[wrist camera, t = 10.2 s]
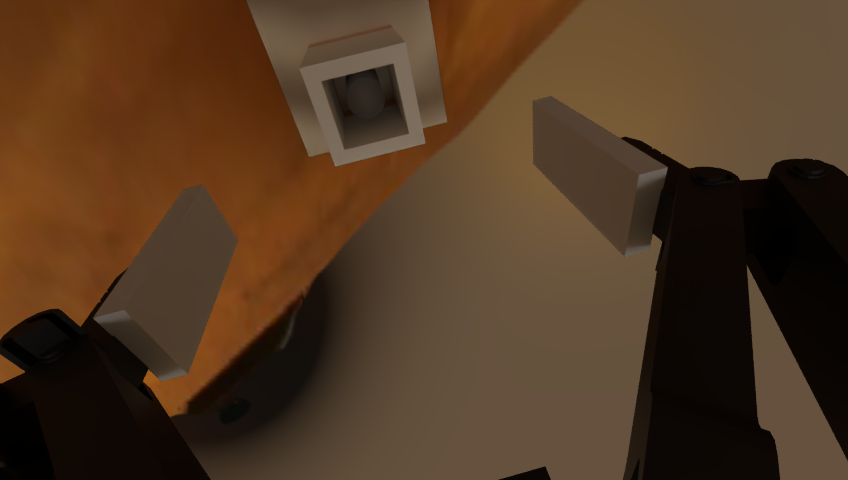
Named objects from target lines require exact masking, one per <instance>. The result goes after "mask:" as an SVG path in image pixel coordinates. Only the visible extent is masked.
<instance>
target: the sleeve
mask: <svg viewBox="0 0 848 480" xmlns="http://www.w3.org/2000/svg"><path fill="white" fill-rule="evenodd" d="M385 65H387V68H388V72H389V76H390V81H391V85H392V89H393V93H394V98H395V99H392V100H388V101H385V103H384V107H383V109H382V111H381V112H380V113H379V114H378V115H377V116H375V117H373V118H369V119H364V118H360V117H358V116H356V115H355V114H354V113H352V111H351V110H348V111H345V112H344V111H343V108H342V105H341V102H340V99H339V95H338V92H337V89H336V86H335V83H334V80H333V78H337V77H341V76H345V75H349V74H353V73H357V72H361V71H365V70H369V69H373V68H377V67H381V66H385ZM299 69H300V72H301V74H302V77H303V80H304V82H305V85H306V88H307V91H308V93H309V96H310V99H311V102H312V104H313V107H314V110H315V113H316V115H317V118H318V121H319V123H320V126H321V129H322V132H323V134H324V137H325V140H326V143H327V145H328V148H329V151H330V154H331V156H332V159H333V162H334V165H335V167H336V166H340V165H343V164H347V163H351V162H355V161H359V160H363V159H367V158H371V157H375V156H379V155H382V154H386V153H390V152H394V151H398V150H402V149H406V148H410V147H414V146H418V145H422V144H425V138H424V133H423V128H422V122H421V117H420V112H419V107H418V102H417V97H416V92H415V87H414V82H413V77H412V72H411V67H410V62H409V57H408V52H407V47H406V42H405V41H404V40H403V39H402V37H401V36H400V35H399V34H398V33H397V32H396V31H395V30H394V28H393V27H392V26H391V25H388V26H384V27H380V28H376V29H372V30H367V31H363V32H359V33H355V34H351V35H347V36H343V37H339V38H335V39H331V40H327V41H323V42H319V43H315V44H310V45H309V46H308V49H307V51H306V54H305V56H304V58H303V61H302V63H301V66H300V68H299Z"/></svg>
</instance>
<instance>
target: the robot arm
mask: <svg viewBox="0 0 848 480" xmlns="http://www.w3.org/2000/svg"><path fill="white" fill-rule="evenodd" d="M533 164H534V165H535V166H536V167H537V168H538V169H539V170H540V171H541V172H542V173H543V174H544V175H545V176H546V177H547V178H548V179H549V180H550V181H551V182H552V183H553V184H554V185H555V186H556V187H557V189H558V190H560V192H561V193H562V194H563V195H564V196H565V197H566V198H567V199H568V200H569V201H570V202H571V203H572V204H573V205H574V206H575V207H576V208H577V209H578V210H579V211H580V212H581V213H582V214H583V215H584V216H585V217H586V218H587V219H588V220H589V221H590V222H591V223H592V224H593V225H594V226H595V227H596V228H597V229H598V230H599V231H600V232H601V233H602V234H603V235H604V236H605V237H606V238H607V239H608V240H609V241H610V242H611V243H612V245H614V247H615V248H617V249H618V251H619V252H620V253H621V254H622V255H623V256H624V257H626V256H630V255H633V254H637V253H641V252H644V251H648V250H649V249H650V244H651V240H652V235H653V234H654V235H655V236H657V237H658V238H659V239H660V240H661V241H662V245H661V249H660V253H659V258H658V261H657V265H656V271H657V273H656V280H655V287H654V292H653V299H652V305H651V312H650V318H649V324H648V331H647V337H646V343H645V350H644V356H643V362H642V369H641V375H640V381H639V388H638V394H637V400H636V407H635V414H634V419H633V426H632V432H631V438H630V445H629V451H628V457H627V463H626V468H625V473H624V477H623V480H780V474H779V464H778V455H777V449H776V444H775V440H774V438H773V436H772V435H771V432H770V431H767V430H764V429H762V428H761V427H760V425H759V423H758V417H757V405H756V391H755V376H754V362H753V348H752V334H751V321H750V307H749V306H750V305H749V291H748V278H747V266H748V268H749V270H750V272H751V273H752V276H753V278H754V279H755V281H756V283H757V285H758V287H759V289H760V291H761V293H762V295H763V297H764V299H765V301H766V303H767V305H768V307H769V309H770V310H771V313H772V314H773V316H774V318H775V320H776V322H777V324H778V326H779V328H780V330H781V332H782V334H783V336H784V338H785V340H786V342H787V344H788V346H789V348H790V349H791V351H792V353H793V355H794V357H795V359H796V361H797V363H798V365H799V367H800V369H801V371H802V373H803V375H804V377H805V378H806V381H807V383H808V384H809V386H810V388H811V390H812V392H813V394H814V396H815V398H816V400H817V402H818V404H819V406H820V408H821V410H822V411H823V414H824V416H825V418H826V419H827V421H828V423H829V425H830V427H831V429H832V431H833V433H834V435H835V437H836V439H837V441H838V443H839V445H840V446H841V448H842V451H843V452H844V454H845V456H846V458H847V460H848V176H847V175H846V174H845V173H844V172H843V171H841V170H840V169H838V168H837V167H835V166H833V165H830V164H827V163H824V162H823V161H820V160H813V159H789V160H783V161H780V162H777V163H775V164H774V165H773V167H772V168H771V171H770V173H769V176H768V178H767V179H756V180H741V181H740V179H739V178H738V176H736V175H735V174H733V173H732V172H730V171H727V170H724V169H721V168H714V167H695V168H690V169H689V168H687V167H685V166H684V165H682V164H680V163H678V162H677V161H675V160H673V159H671V158H670V157H668V156H666V155H665V154H661V152H659V151H658V150H656V149H652V147H651V146H649V145H647V144H646V143H644V142H642V141H640V140H636V139H632V138H628V137H623V138H619V137H617V136H616V135H614V134H612V133H611V132H609V131H607V130H606V129H604V128H603V127H601V126H599V125H598V124H596V123H594V122H593V121H591V120H589V119H588V118H586V117H584V116H583V115H581V114H579V113H578V112H576V111H575V110H573V109H571V108H570V107H568V106H566V105H565V104H563V103H561V102H560V101H558V100H557V99H555V98H553V97H552V96H550V97H546V98H542V99H538V100H534V101H533ZM237 242H238V239H237V238H236V236H235V235H234V233H233V231H232V230H231V228H230V227H229V225H228V223H227V222H226V220H225V218H224V217H223V215H222V214H221V212H220V210H219V209H218V207H217V205H216V204H215V202H214V201H213V199H212V197H211V196H210V194H209V193H208V191H207V189H206V188H205V186H204V184H203V185H199V186H195V187H191V188H187V189H184V190H183V191H182V192H181V194H180V195H179V197H178V198H177V199H176V201H175V202H174V204H173V205H172V207H171V208H170V209H169V211H168V212H167V214H166V215H165V216H164V218H163V219H162V221H161V222H160V224H159V225H158V226H157V228H156V229H155V231H154V232H153V233H152V235H151V236H150V238H149V239H148V241H147V242H146V243H145V245H144V246H143V248H142V249H141V250H140V252H139V253H138V255H137V256H136V258H135V259H134V260H133V262H132V263H131V265H130V266H129V267H128V268H127V269H126V270H125V271H124V272H122V273H121V274H120V275H119V276H118V277H117V278H116V279H115V280H114V282H113V283H112V284H111V286H110V287H109V288H108V290H107V291H108V292H106V293H105V294H104V295H103V297H102V298H101V300H100V301H101V302H99V303H98V304H97V305H96V306H95V308H94V309H93V311H92V312H91V313H90V315H89V316H88V318H87V319H86V320H85V322H84V323H83V324H82V326H81V327H80V326H79V325H77V324H76V323H75V322H74V321H73V320H72V319H71V318H69V317H68V316H67V315H66V314H65V313H64V312H63V311H61V310H59V309H49V310H46V311H43V312H40V313H37V314H35V315H33V316H31V317H29V318H27V319H25V320H24V321H22V322H21V323H19V324H18V325H16V326H15V327H13V328H12V329H11V330H10V331H9V332H7V333H6V334H5V335H4V336H3V337H2V338H1V340H0V354H1V355H2V356H4V357H5V358H7V359H8V360H9V361H11V362H12V363H14V364H15V365H17V366H18V367H19V368H21V369H22V370H24V371H25V373H23V374H21V375H19V376H17V377H14V378H12V379H10V380H8V381H6V382H4V383H0V480H211V479H210V478H209V476H208V475H207V473H206V472H205V470H204V469H203V467H202V466H201V464H200V463H199V461H198V460H197V458H196V457H195V455H194V454H193V452H192V451H191V449H190V448H189V446H188V445H187V443H186V441H185V440H184V438H183V437H182V435H181V434H180V432H179V431H178V429H177V428H176V426H175V425H174V423H173V422H172V420H171V419H170V417H169V416H168V414H167V413H166V411H165V410H164V408H163V407H162V405H161V404H160V402H159V400H158V399H157V397H156V396H155V394H154V393H153V391H152V390H151V388H149V387H148V386H147V385H146V384H145V383H144V382H143V379H144V377H145V375H146V373H147V371H148V369H149V370H150V371H151V372H152V373H153V374H154V375H155V376H156V377H157V378H158V379H159V380H161V381H165V380H168V379H172V378H176V377H179V376H183V375H187V374H188V373H189V370H190V367H191V365H192V362H193V359H194V357H195V354H196V351H197V349H198V346H199V343H200V341H201V338H202V335H203V333H204V330H205V327H206V325H207V322H208V319H209V317H210V314H211V311H212V309H213V306H214V303H215V301H216V298H217V295H218V293H219V290H220V287H221V285H222V282H223V279H224V277H225V274H226V271H227V269H228V266H229V263H230V261H231V258H232V255H233V253H234V250H235V247H236V245H237ZM500 480H551V479H550V477H549V474H548V472H547V469H546V467H542V468H538V469H535V470H531V471H528V472H524V473H521V474H517V475H514V476H510V477H507V478H503V479H500Z"/></svg>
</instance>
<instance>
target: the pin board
mask: <svg viewBox="0 0 848 480" xmlns="http://www.w3.org/2000/svg"><path fill="white" fill-rule="evenodd" d="M246 1H247V4H248V6H249V9H250V11H251V14H252V16H253V19H254V21H255V24H256V26H257V29H258V31H259V33H260V36H261V38H262V41H263V43H264V46H265V48H266V51H267V53H268V56H269V58H270V61H271V63H272V66H273V68H274V71H275V73H276V76H277V78H278V81H279V83H280V86H281V88H282V91H283V93H284V95H285V98H286V100H287V103H288V105H289V108H290V110H291V113H292V115H293V118H294V120H295V123H296V125H297V128H298V130H299V133H300V135H301V138H302V140H303V143H304V145H305V148H306V150H307V153H308V155H309V157H311V156H315V155H319V154H323V153H327V152H330V151H329V148H328V145H327V143H326V140H325V137H324V134H323V132H322V129H321V126H320V123H319V121H318V118H317V115H316V113H315V110H314V107H313V104H312V102H311V99H310V96H309V93H308V91H307V88H306V85H305V82H304V80H303V77H302V74H301V72H300V69H299V68H300V66H301V63H302V61H303V58H304V56H305V54H306V51H307V49H308V46H309V45H310V44H315V43H319V42H323V41H327V40H331V39H335V38H339V37H343V36H347V35H351V34H355V33H359V32H363V31H367V30H372V29H376V28H380V27H384V26H388V25H391V26H392V27H393V28H394V30H395V31H396V32H397V33H398V34H399V35H400V36H401V37H402V39H403V40H404V41H405V42H406V47H407V52H408V57H409V62H410V67H411V72H412V77H413V82H414V87H415V92H416V97H417V102H418V107H419V112H420V117H421V122H422V128H426V127H430V126H434V125H438V124H442V123H445V122H447V118H446V111H445V105H444V98H443V92H442V85H441V79H440V72H439V66H438V59H437V53H436V46H435V40H434V34H433V27H432V21H431V14H430V8H429V1H428V0H246ZM333 80H334V83H335V86H336V89H337V92H338V95H339V99H340V102H341V105H342V108H343V111H344V112H345V111H348V110H351V111H352V113H354V114H355V115H356V116H358V117H360V118H364V119H369V118H373V117H375V116H377V115H378V114H379V113H380V112H381V111H382V109H383V107H384V103H385V101H388V100H392V99H395V98H394V93H393V89H392V85H391V81H390V76H389V72H388V68H387V65H385V66H381V67H377V68H373V69H369V70H365V71H361V72H357V73H353V74H349V75H345V76H341V77H337V78H333Z"/></svg>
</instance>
